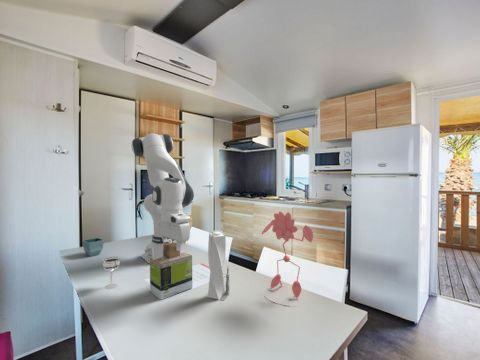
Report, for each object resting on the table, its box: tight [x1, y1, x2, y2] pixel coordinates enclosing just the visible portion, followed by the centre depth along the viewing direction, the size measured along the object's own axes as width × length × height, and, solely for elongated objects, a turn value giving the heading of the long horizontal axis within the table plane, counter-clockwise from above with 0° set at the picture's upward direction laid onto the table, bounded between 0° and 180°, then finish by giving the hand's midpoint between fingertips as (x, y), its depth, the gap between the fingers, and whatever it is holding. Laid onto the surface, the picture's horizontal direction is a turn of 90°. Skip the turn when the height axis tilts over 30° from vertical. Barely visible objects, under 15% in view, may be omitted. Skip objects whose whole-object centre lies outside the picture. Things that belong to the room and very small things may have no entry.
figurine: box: [261, 211, 314, 307], centre depth 100 cm, size 15×26×35 cm, turn 45°
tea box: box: [149, 250, 193, 300], centre depth 104 cm, size 15×10×15 cm
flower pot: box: [82, 237, 105, 257], centre depth 147 cm, size 9×9×9 cm
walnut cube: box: [163, 241, 181, 259], centre depth 104 cm, size 5×5×5 cm
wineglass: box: [102, 256, 121, 290], centre depth 106 cm, size 7×7×12 cm
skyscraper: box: [207, 230, 231, 302], centre depth 99 cm, size 8×8×28 cm
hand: (171, 248), depth 104 cm, fingers open, 8 cm apart
